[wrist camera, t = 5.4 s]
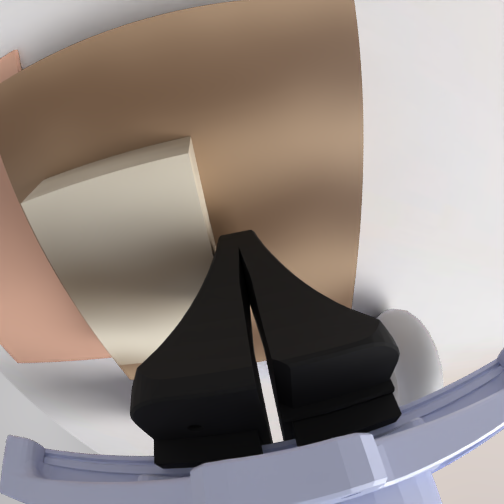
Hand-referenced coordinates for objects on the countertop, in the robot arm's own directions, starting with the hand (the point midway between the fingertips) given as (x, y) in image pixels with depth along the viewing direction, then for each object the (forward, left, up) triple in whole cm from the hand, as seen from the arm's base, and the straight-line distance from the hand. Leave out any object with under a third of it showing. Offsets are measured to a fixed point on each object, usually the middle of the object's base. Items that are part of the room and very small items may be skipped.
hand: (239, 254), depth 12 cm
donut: (-14, -10, -5) cm, 18 cm away
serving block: (0, +2, -5) cm, 5 cm away
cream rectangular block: (0, +4, -1) cm, 4 cm away
